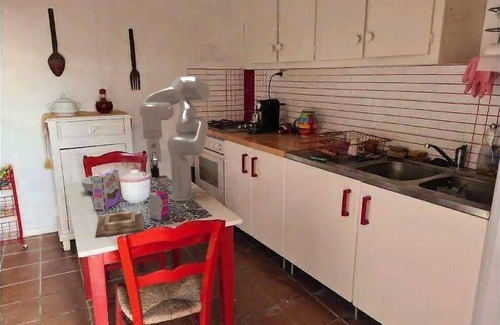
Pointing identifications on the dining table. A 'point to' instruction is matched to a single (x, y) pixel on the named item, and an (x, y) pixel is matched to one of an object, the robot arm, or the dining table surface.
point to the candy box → (105, 189)
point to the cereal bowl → (87, 184)
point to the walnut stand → (119, 224)
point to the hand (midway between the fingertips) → (154, 174)
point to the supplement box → (159, 205)
